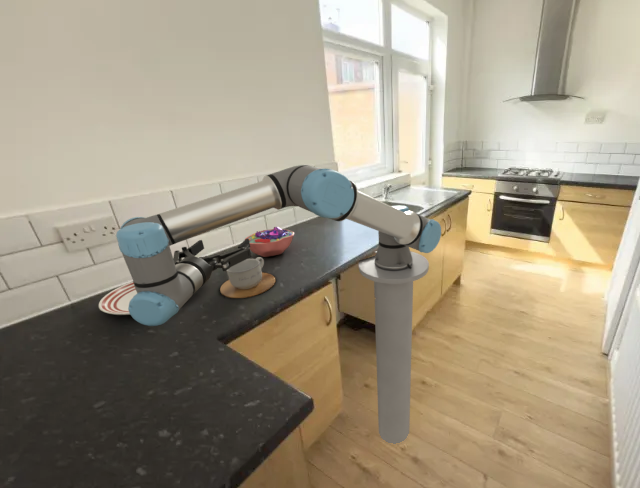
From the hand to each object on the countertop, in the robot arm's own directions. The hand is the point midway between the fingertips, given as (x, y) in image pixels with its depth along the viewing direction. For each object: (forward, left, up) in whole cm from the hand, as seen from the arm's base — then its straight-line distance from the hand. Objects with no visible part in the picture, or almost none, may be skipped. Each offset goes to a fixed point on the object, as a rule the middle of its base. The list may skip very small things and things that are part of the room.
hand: (225, 243), depth 94 cm
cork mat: (+5, -8, -19) cm, 22 cm away
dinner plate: (+25, +12, -20) cm, 34 cm away
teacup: (+4, -9, -19) cm, 22 cm away
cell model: (+18, -32, -20) cm, 42 cm away
